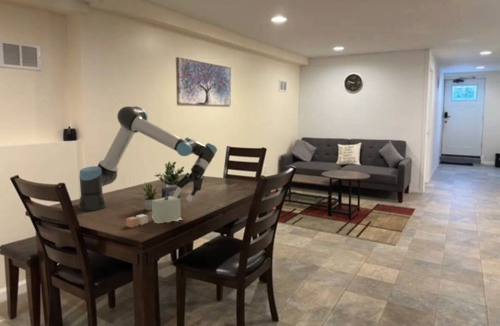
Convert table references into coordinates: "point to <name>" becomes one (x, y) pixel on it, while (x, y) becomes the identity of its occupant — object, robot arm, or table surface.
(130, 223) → the cube
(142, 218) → the cube
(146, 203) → the house plant
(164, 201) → the cover
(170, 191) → the small box
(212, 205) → the table surface
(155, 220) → the mat
